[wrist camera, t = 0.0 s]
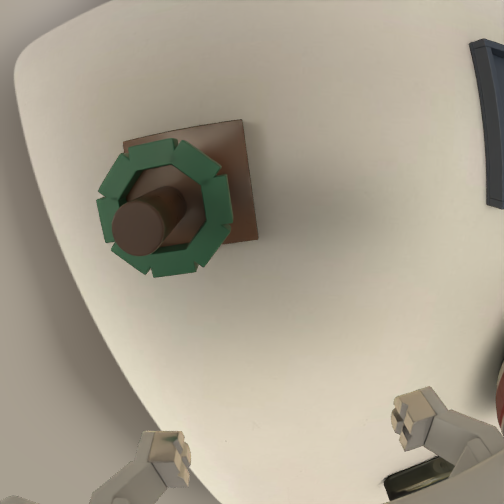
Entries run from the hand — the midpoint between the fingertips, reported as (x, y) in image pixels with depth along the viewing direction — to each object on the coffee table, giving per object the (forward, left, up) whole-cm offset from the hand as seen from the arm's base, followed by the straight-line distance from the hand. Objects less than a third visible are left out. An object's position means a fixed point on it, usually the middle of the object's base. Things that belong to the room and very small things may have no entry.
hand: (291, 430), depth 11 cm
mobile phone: (+38, +23, -17) cm, 48 cm away
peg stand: (-8, -4, -17) cm, 19 cm away
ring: (-8, -4, -8) cm, 12 cm away
